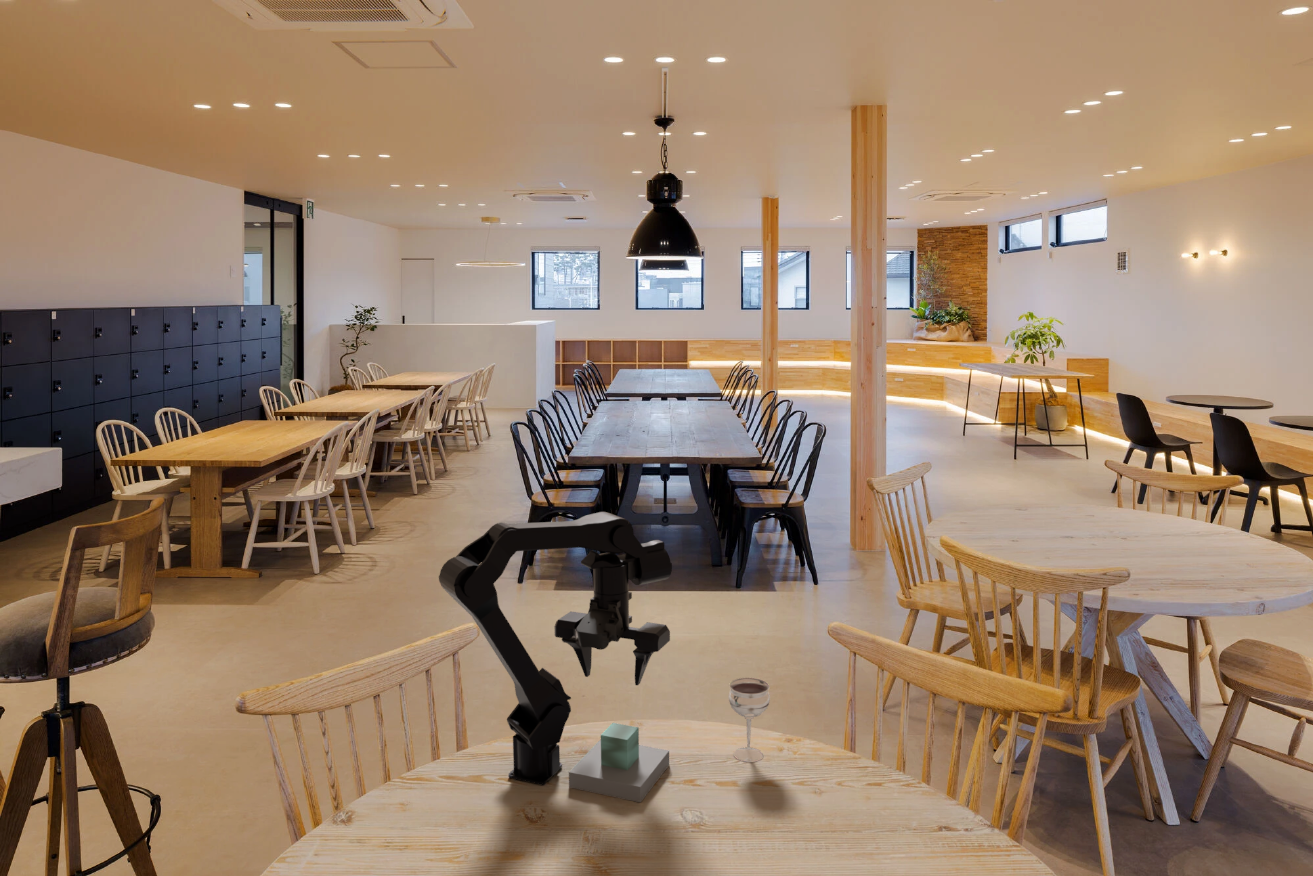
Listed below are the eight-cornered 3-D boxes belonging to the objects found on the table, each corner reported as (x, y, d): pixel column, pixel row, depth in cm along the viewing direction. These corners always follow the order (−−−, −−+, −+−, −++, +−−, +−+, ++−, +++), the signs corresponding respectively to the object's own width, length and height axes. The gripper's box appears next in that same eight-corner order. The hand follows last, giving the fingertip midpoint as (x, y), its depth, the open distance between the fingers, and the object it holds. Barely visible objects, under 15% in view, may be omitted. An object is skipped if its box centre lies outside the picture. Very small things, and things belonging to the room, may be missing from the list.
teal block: (601, 765, 142) (600, 734, 141) (613, 751, 146) (612, 722, 145) (627, 770, 140) (627, 740, 139) (638, 757, 144) (638, 727, 143)
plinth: (569, 787, 140) (568, 772, 140) (602, 751, 151) (601, 737, 151) (640, 802, 135) (640, 787, 135) (669, 765, 146) (669, 750, 146)
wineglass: (722, 760, 148) (723, 690, 146) (735, 741, 154) (735, 674, 152) (762, 768, 145) (763, 697, 144) (773, 749, 152) (774, 681, 150)
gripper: (536, 597, 144) (539, 690, 147) (643, 612, 137) (644, 709, 139) (569, 578, 154) (571, 665, 157) (671, 590, 147) (671, 681, 150)
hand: (612, 680), depth 150 cm, fingers open, 9 cm apart
